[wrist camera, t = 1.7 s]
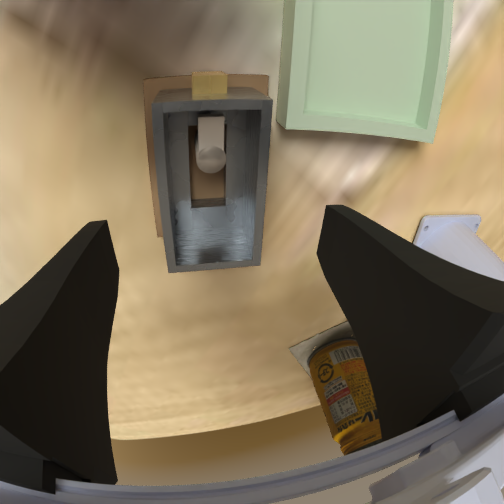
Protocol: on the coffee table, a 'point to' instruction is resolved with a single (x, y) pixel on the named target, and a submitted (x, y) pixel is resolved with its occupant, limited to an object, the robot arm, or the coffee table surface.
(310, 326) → the coffee table surface
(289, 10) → the tray
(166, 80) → the tan rectangular block
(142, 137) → the coffee table surface
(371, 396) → the condiment
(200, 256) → the grey open box
